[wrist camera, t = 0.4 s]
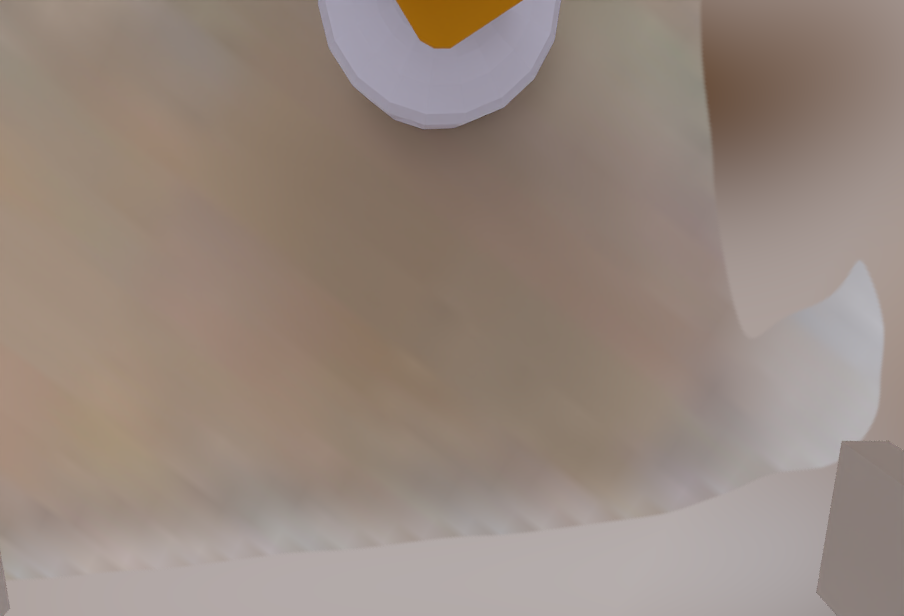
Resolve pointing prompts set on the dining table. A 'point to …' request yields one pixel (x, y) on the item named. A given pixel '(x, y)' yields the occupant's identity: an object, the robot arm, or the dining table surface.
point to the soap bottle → (440, 53)
